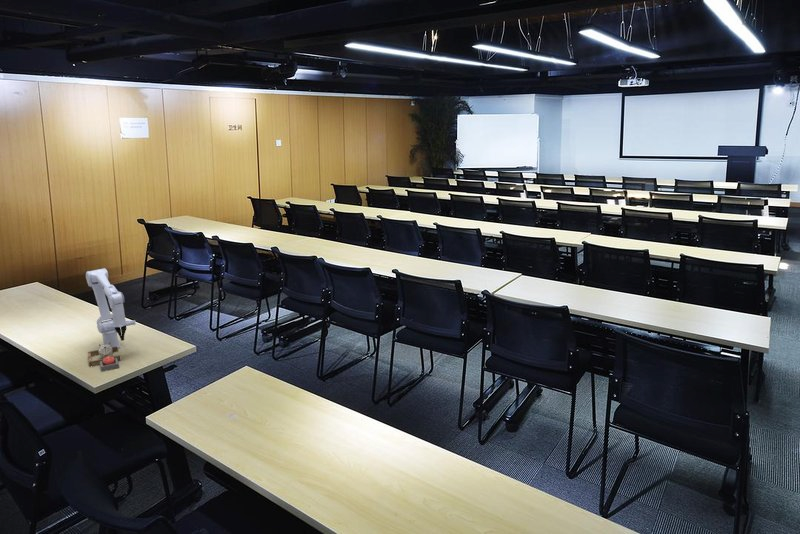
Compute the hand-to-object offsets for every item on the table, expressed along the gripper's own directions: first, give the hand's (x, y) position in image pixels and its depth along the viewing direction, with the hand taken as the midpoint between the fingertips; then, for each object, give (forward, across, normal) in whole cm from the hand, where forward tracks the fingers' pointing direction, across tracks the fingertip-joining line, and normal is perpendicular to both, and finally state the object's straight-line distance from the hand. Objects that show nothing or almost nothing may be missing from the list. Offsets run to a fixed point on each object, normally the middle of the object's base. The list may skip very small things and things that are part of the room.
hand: (122, 339), depth 290 cm
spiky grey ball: (+10, -8, +3) cm, 13 cm away
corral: (+10, -9, +3) cm, 13 cm away
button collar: (+10, -8, -10) cm, 16 cm away
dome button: (+8, -8, -10) cm, 15 cm away
